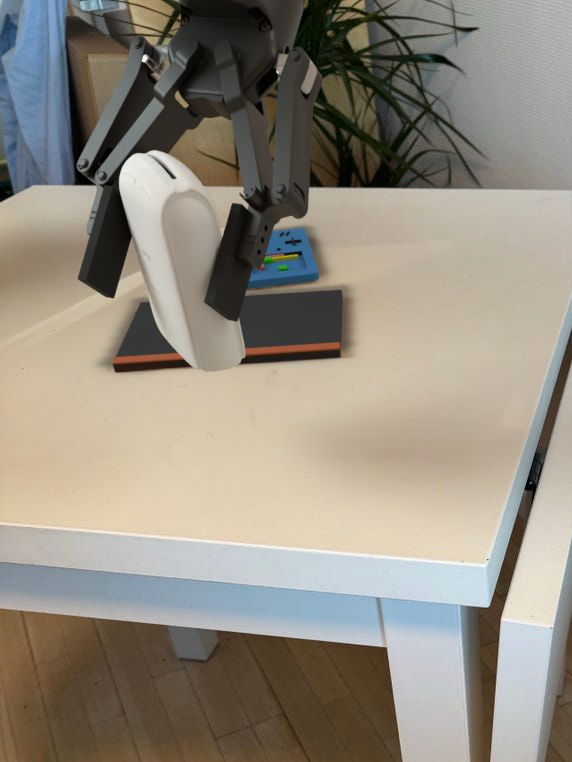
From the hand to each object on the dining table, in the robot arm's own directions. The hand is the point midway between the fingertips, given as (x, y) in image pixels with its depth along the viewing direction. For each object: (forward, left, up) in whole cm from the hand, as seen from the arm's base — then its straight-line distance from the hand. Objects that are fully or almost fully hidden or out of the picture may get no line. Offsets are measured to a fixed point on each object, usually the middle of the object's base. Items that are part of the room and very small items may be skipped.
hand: (156, 300), depth 60 cm
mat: (-12, +21, -12) cm, 27 cm away
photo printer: (0, +3, -5) cm, 6 cm away
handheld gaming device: (-19, +38, -12) cm, 44 cm away
